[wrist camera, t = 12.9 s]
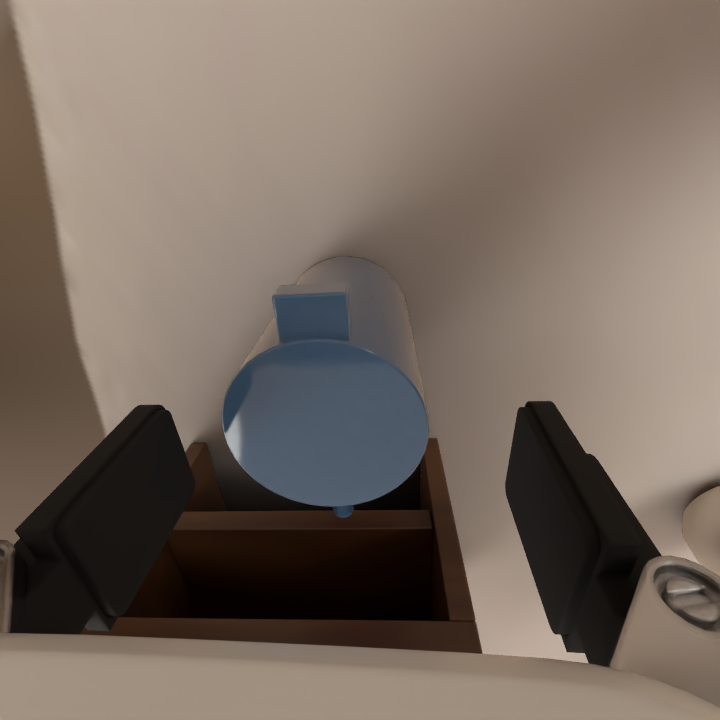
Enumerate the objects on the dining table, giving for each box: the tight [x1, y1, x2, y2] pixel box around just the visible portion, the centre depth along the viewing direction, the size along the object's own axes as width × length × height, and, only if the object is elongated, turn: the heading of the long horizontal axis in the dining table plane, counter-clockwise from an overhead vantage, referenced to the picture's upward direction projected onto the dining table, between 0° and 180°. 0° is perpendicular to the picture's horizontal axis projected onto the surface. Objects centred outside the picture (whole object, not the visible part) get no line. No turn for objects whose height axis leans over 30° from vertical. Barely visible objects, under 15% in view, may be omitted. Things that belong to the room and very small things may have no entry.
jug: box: [222, 257, 429, 518], centre depth 17 cm, size 10×6×10 cm, turn 3°
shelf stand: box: [80, 439, 483, 654], centre depth 22 cm, size 14×16×14 cm
